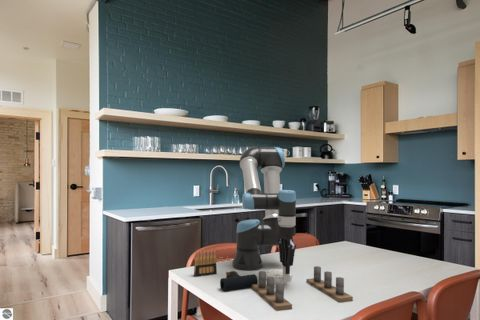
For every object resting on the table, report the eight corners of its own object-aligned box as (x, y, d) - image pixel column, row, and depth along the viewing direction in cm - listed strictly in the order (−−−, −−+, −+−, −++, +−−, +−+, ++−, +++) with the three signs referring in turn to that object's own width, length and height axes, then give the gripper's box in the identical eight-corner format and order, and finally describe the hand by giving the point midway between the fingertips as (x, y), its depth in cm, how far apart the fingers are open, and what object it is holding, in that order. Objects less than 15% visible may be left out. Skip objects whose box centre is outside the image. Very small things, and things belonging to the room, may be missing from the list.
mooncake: (275, 274, 165) (275, 266, 165) (297, 279, 156) (297, 271, 157) (259, 279, 156) (259, 271, 156) (281, 286, 148) (281, 277, 148)
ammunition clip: (195, 277, 157) (195, 250, 158) (193, 275, 159) (194, 249, 159) (216, 274, 162) (217, 248, 162) (215, 273, 164) (215, 247, 164)
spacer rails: (251, 288, 144) (251, 270, 144) (318, 281, 154) (318, 264, 154) (276, 310, 121) (277, 289, 121) (352, 300, 132) (352, 280, 132)
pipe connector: (214, 271, 149) (245, 268, 155) (214, 284, 149) (245, 279, 155) (224, 280, 138) (257, 275, 145) (224, 293, 138) (257, 288, 145)
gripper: (272, 223, 155) (271, 277, 154) (285, 228, 142) (285, 286, 141) (287, 223, 157) (286, 275, 156) (301, 227, 145) (301, 284, 144)
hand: (286, 280), depth 149 cm, fingers closed
